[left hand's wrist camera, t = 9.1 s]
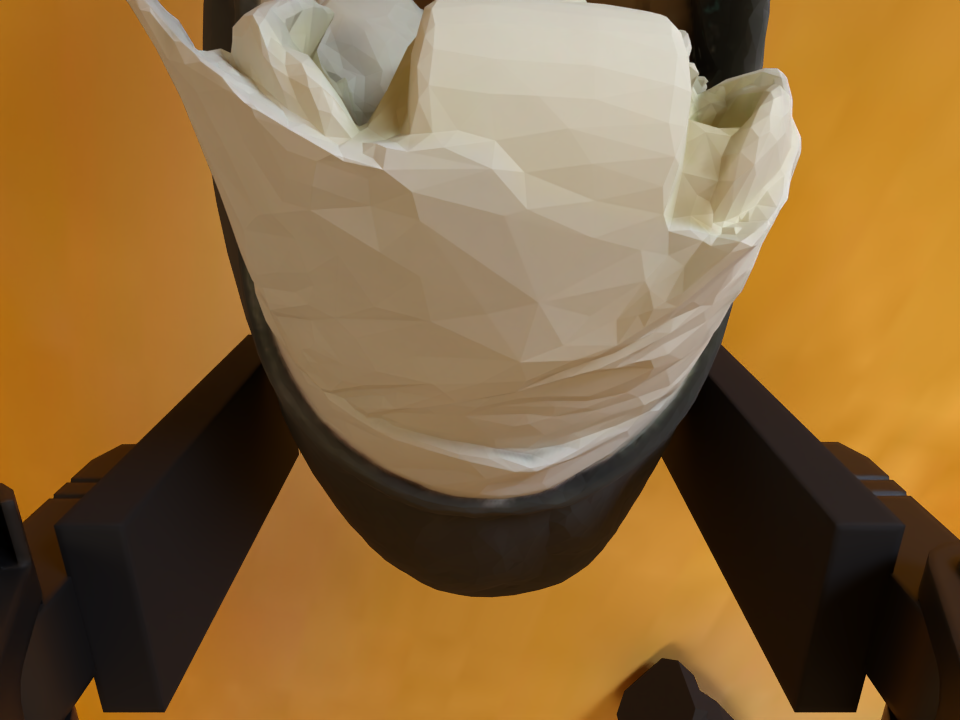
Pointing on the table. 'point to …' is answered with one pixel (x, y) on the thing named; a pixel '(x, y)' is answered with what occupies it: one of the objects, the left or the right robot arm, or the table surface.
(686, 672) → the toy gun
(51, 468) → the table surface
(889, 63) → the table surface
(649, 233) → the ballet flat
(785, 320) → the table surface
